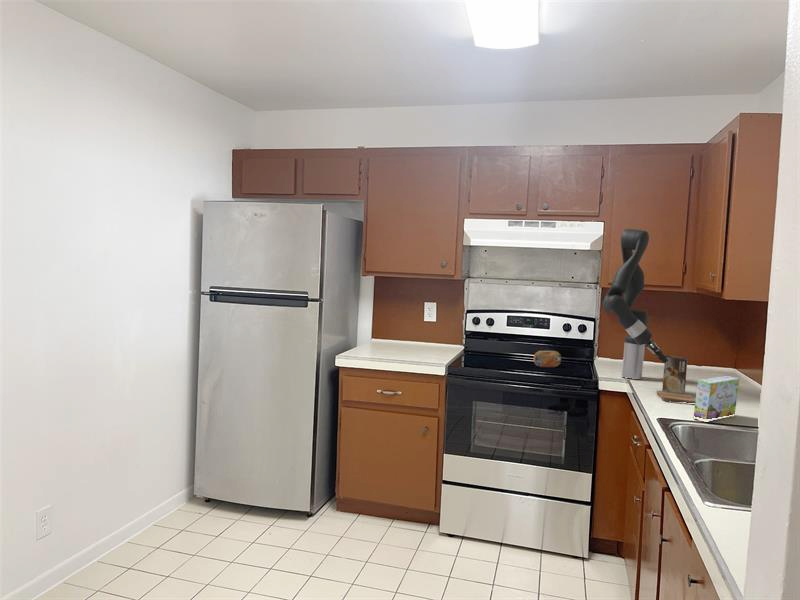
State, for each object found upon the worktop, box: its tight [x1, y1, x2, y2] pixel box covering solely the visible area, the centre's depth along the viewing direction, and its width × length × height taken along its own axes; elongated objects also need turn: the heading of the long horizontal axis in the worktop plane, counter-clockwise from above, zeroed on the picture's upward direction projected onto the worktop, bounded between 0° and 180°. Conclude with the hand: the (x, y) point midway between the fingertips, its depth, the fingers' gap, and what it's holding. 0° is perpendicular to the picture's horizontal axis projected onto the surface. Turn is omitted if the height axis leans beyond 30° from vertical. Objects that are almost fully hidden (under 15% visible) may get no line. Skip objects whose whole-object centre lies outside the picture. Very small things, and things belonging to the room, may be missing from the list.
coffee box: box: [661, 354, 688, 393], centre depth 262 cm, size 9×6×16 cm
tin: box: [533, 350, 562, 368], centre depth 309 cm, size 15×3×8 cm, turn 105°
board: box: [655, 390, 696, 403], centre depth 251 cm, size 14×13×2 cm
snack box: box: [693, 375, 740, 419], centre depth 223 cm, size 21×6×15 cm, turn 126°
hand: (664, 360), depth 262 cm, fingers open, 8 cm apart
